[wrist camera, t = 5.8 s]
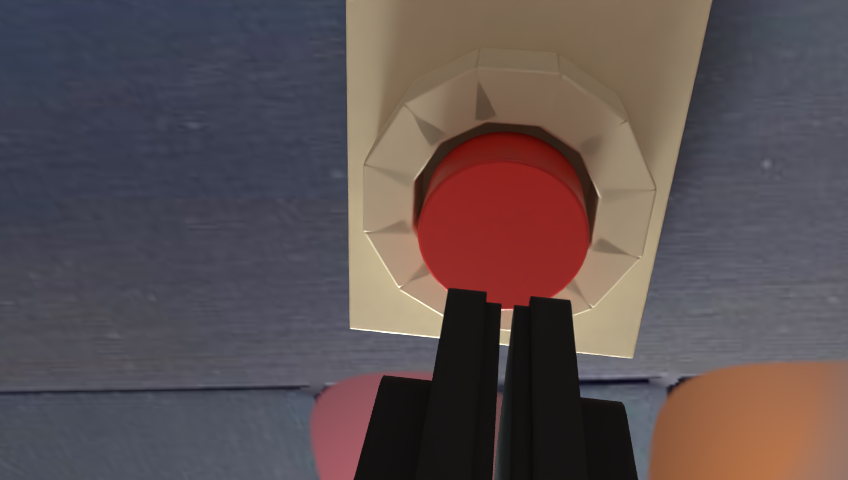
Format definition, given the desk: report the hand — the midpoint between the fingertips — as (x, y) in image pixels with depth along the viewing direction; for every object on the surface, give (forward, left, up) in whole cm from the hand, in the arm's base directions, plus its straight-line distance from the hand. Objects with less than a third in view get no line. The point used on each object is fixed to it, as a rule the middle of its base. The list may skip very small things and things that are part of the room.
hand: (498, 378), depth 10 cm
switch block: (+1, 0, -11) cm, 11 cm away
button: (+1, 0, -7) cm, 7 cm away
